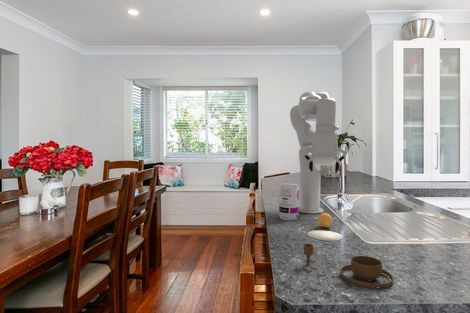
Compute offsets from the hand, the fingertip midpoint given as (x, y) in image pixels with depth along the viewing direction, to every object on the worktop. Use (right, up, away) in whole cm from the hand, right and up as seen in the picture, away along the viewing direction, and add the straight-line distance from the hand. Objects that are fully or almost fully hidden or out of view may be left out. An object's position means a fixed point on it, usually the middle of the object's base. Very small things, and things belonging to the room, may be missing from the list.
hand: (323, 171), depth 130 cm
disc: (-4, -22, -17) cm, 28 cm away
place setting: (-7, -24, -49) cm, 55 cm away
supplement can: (-13, -21, +8) cm, 26 cm away
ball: (-1, -18, -6) cm, 19 cm away
